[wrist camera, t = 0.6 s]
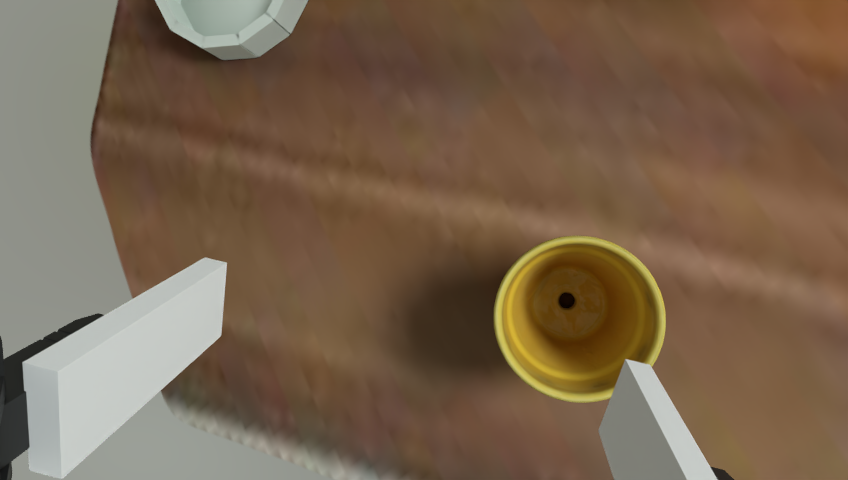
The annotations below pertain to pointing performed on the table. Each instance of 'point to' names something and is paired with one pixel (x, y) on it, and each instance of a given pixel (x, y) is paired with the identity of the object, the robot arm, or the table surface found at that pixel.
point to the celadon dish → (232, 24)
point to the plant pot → (578, 317)
